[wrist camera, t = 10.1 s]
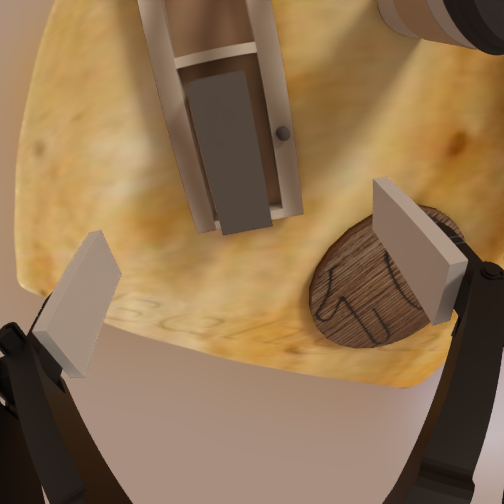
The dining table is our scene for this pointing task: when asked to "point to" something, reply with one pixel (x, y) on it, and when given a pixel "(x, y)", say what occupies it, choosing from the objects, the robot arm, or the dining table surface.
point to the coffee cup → (449, 21)
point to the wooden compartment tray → (218, 62)
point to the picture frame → (230, 150)
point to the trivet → (366, 290)
